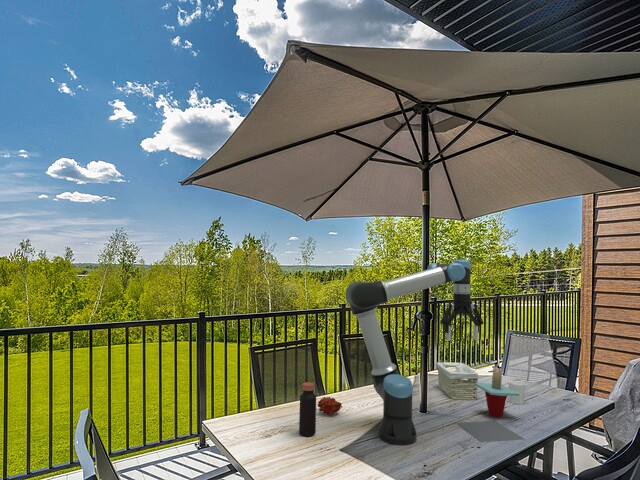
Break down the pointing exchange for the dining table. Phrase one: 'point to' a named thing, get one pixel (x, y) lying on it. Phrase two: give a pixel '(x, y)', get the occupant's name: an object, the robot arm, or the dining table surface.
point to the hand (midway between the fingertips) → (462, 340)
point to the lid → (496, 385)
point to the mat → (489, 431)
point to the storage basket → (458, 380)
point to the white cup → (518, 388)
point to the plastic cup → (495, 404)
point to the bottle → (307, 411)
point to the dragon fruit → (329, 405)
